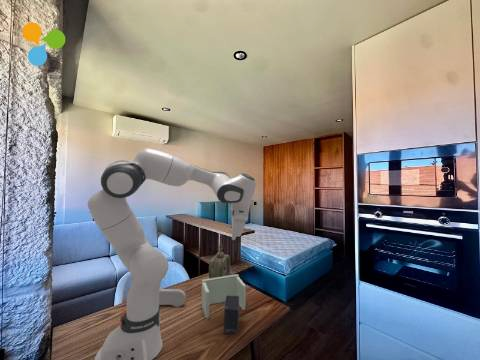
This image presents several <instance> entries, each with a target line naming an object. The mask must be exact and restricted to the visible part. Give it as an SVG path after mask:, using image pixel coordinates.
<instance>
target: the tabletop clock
mask: <svg viewBox="0 0 480 360" xmlns="http://www.w3.org/2000/svg"><path fill="white" fill-rule="evenodd" d="M220 247H221V248H220ZM223 247H224V246H223V244H222V243H221V244H219V246H218V248H217V250H218V251H217V253H216V254H215V255H214V256H213V257H211V258H210V260H209V262H208V264H209V265H208V279H210V278H217V277H223V276H229V275H231V255H230V254H225V253H224V251H223V249H224V248H223Z"/></svg>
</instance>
